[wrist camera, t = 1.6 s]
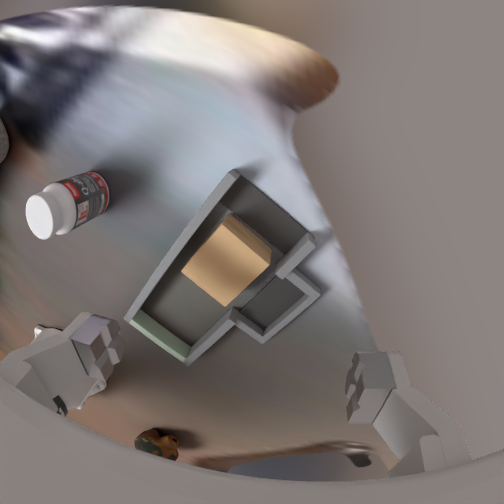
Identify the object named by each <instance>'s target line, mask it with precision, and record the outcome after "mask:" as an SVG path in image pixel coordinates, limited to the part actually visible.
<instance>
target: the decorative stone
mask: <svg viewBox="0 0 504 504" xmlns="http://www.w3.org/2000/svg"><path fill="white" fill-rule="evenodd" d="M8 149H9V140H8V135H7V132H6V129H5V127H4V125H3V122H2V120H1V118H0V163H1V162H2V161H3V160H4V159H5V157H6V155H7V152H8Z"/></svg>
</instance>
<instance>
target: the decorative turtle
mask: <svg viewBox="0 0 504 504" xmlns="http://www.w3.org/2000/svg"><path fill="white" fill-rule="evenodd" d="M178 445H179V440H178V438H177V437H175V436H174V435H167V436H164V437H160V435H159V433H158V431H157V430H156V429H154V428H153V429H150V430H148V431H145V432H142V433H141V434H140V435H139V436H138V437H137V438H136V439H135V448H136V449H138V450H141V451H144V452H147V453H150V454H153V455H156V456H159V457H162V458H166V459H169V460H173V461H175V460H176V459H177V458H178V451H177V449H176V447H177V446H178Z"/></svg>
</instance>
